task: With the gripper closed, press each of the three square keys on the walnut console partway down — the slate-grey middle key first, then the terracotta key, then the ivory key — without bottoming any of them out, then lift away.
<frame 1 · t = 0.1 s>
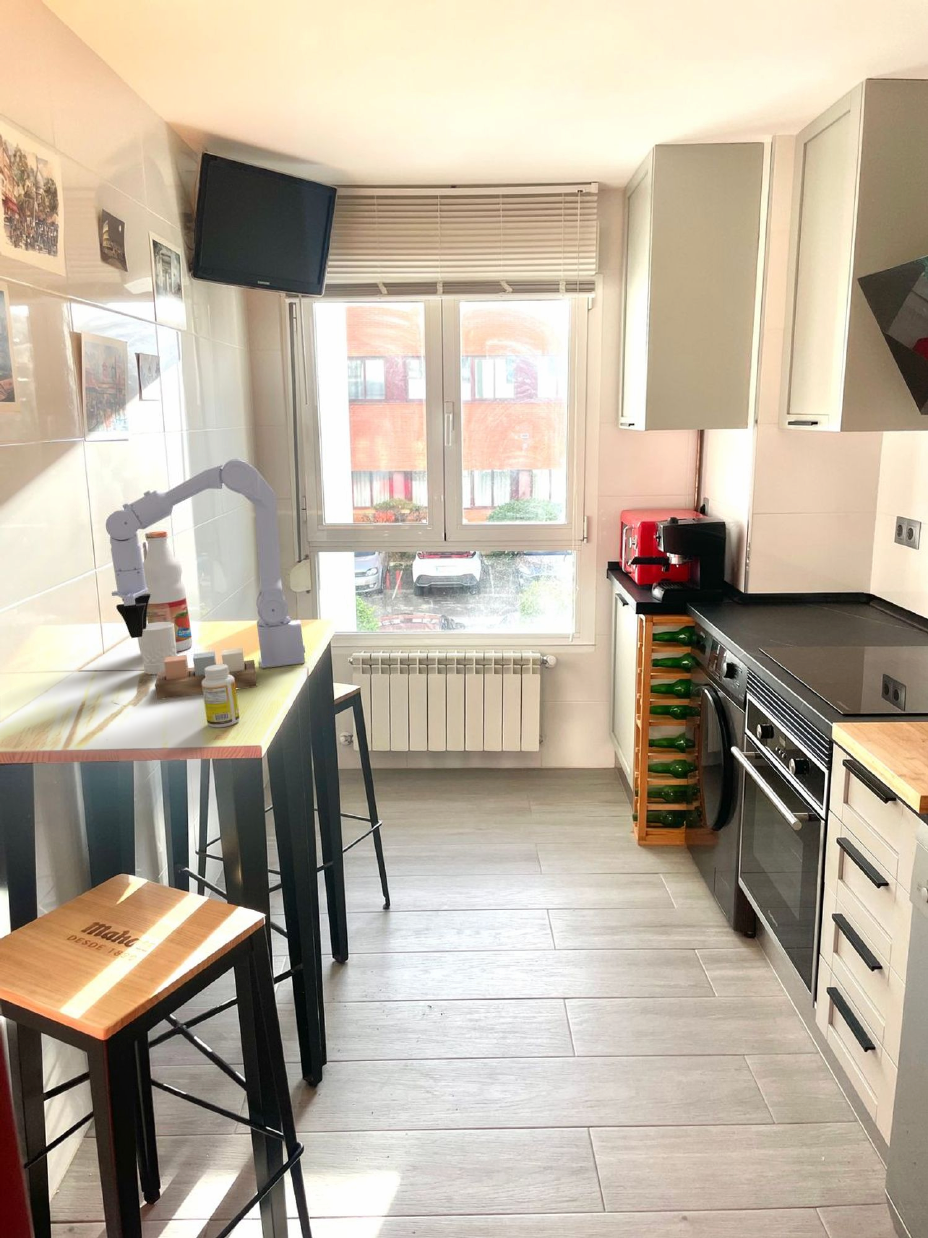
hand: (138, 633, 190), 10 cm above the table, tool pointing down, fingers open, 7 cm apart
key terracotta: (176, 668, 182), point 5 cm above the table, slide at 0.0 cm
console: (208, 686, 184), on the table
white cup: (161, 671, 199), on the table
key slate: (205, 664, 183), point 5 cm above the table, slide at 0.0 cm
fruit juice: (172, 649, 218), on the table
supplement bottle: (223, 724, 160), on the table
key ivory: (233, 661, 184), point 5 cm above the table, slide at 0.0 cm
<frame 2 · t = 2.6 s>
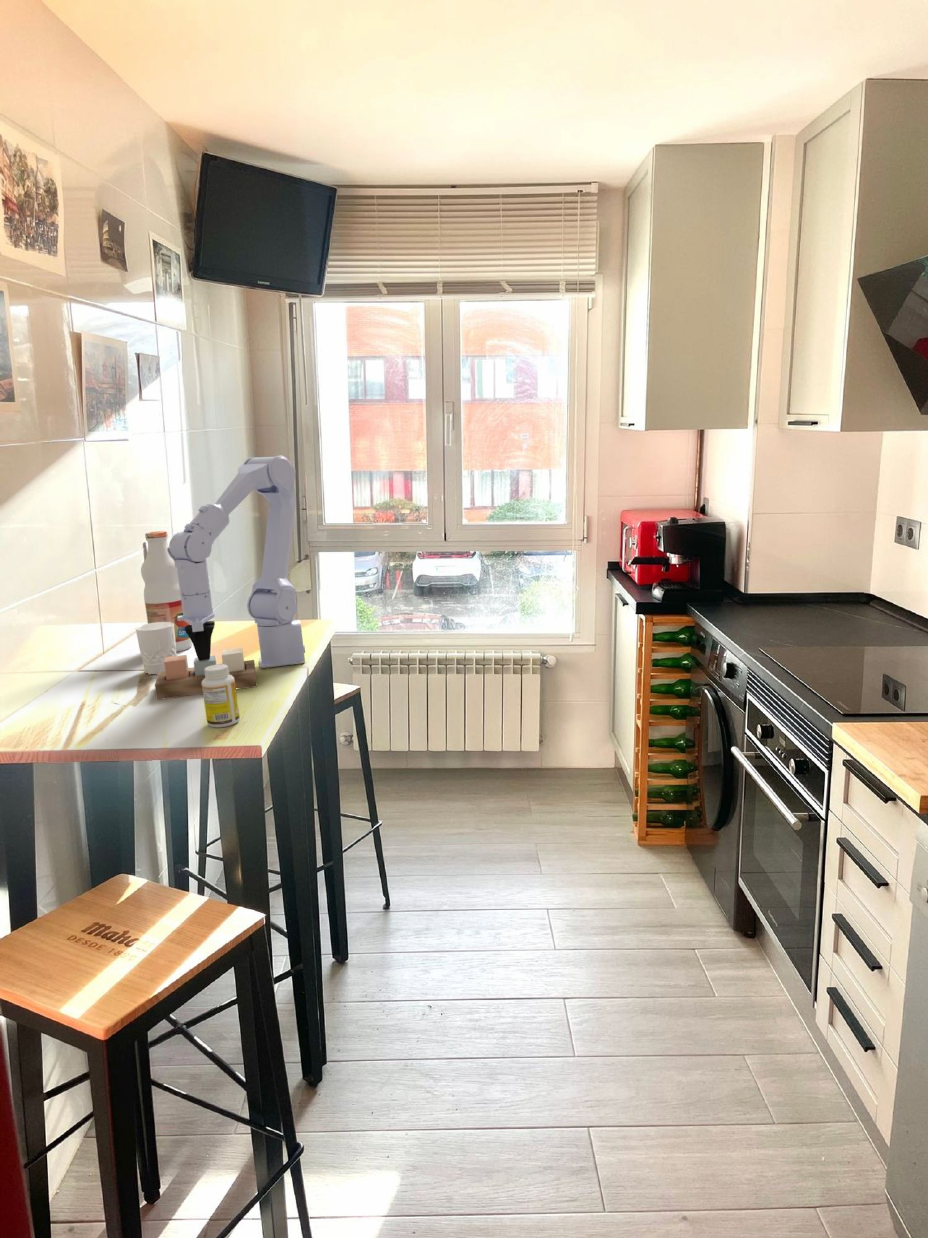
hand: (204, 659, 183), 6 cm above the table, tool pointing down, fingers closed, pressing on key slate
key slate: (205, 668, 183), point 4 cm above the table, slide at 0.9 cm, touching gripper
everything else where it was.
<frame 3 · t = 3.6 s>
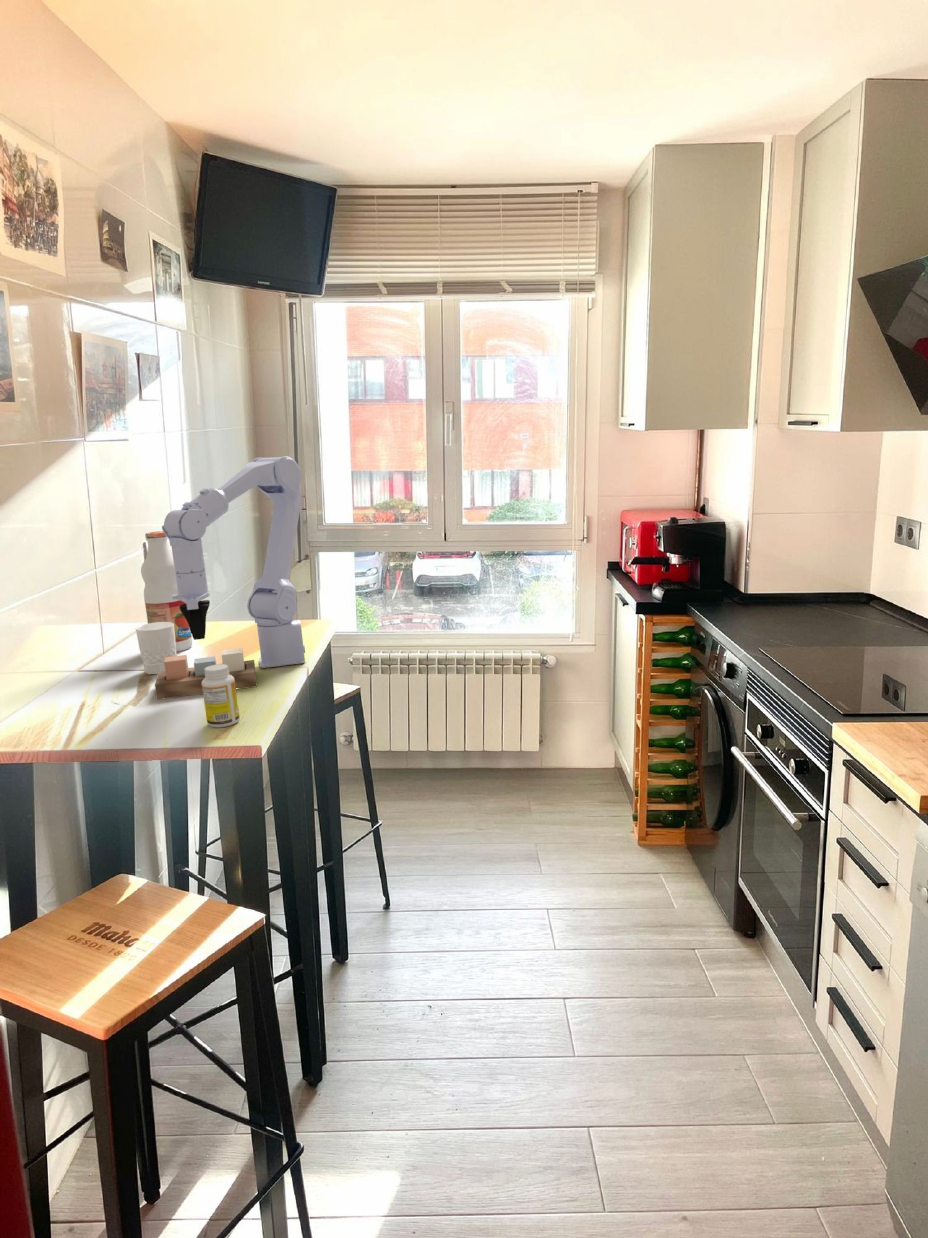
hand: (199, 638, 182), 10 cm above the table, tool pointing down, fingers closed
key slate: (205, 669, 183), point 3 cm above the table, slide at 1.0 cm
everything else where it was.
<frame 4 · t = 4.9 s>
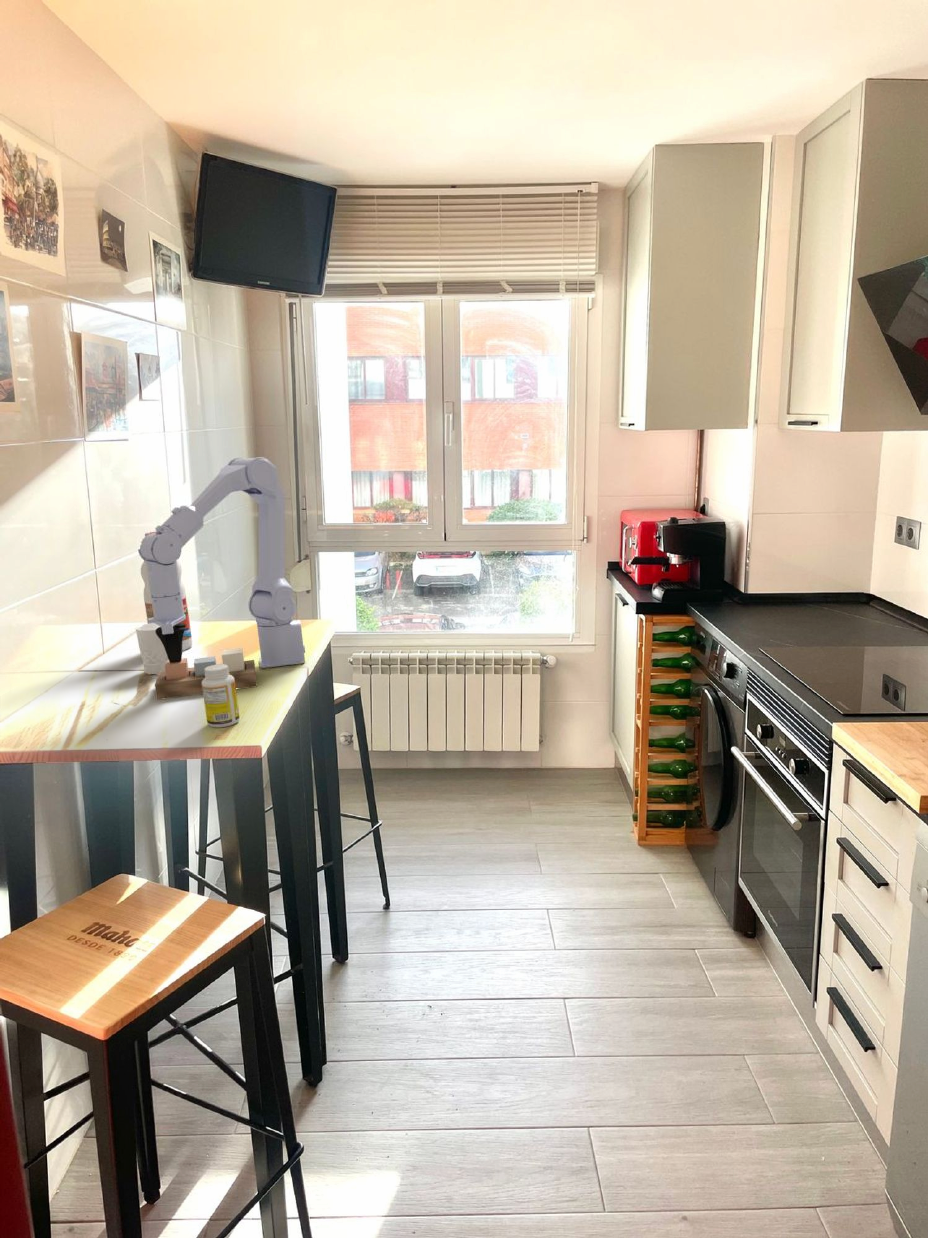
hand: (175, 661, 182), 6 cm above the table, tool pointing down, fingers closed, pressing on key terracotta
key terracotta: (177, 671, 182), point 4 cm above the table, slide at 0.7 cm, touching gripper
everything else where it was.
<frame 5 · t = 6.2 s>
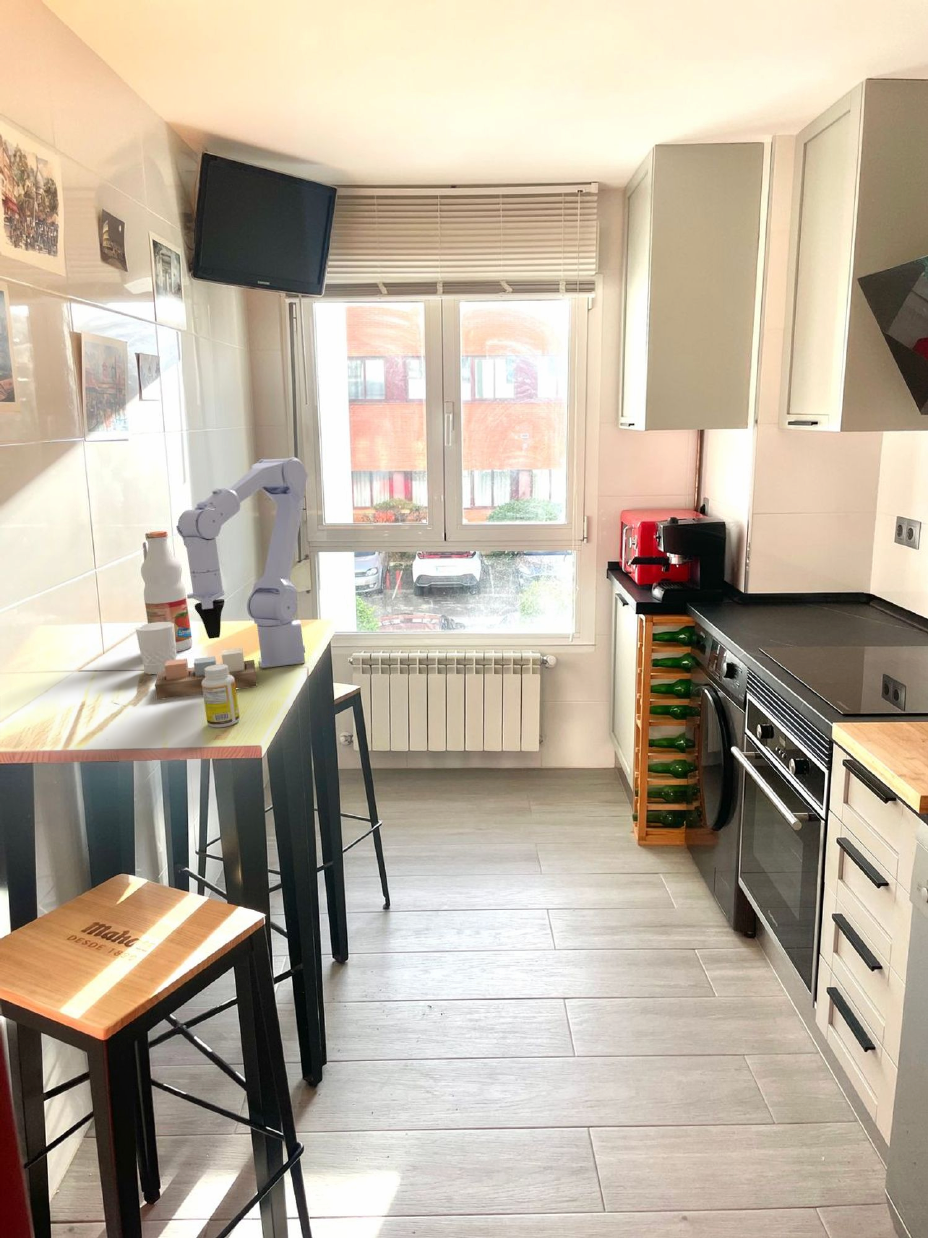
hand: (214, 637, 183), 10 cm above the table, tool pointing down, fingers closed
key terracotta: (177, 671, 182), point 4 cm above the table, slide at 0.7 cm
everything else where it was.
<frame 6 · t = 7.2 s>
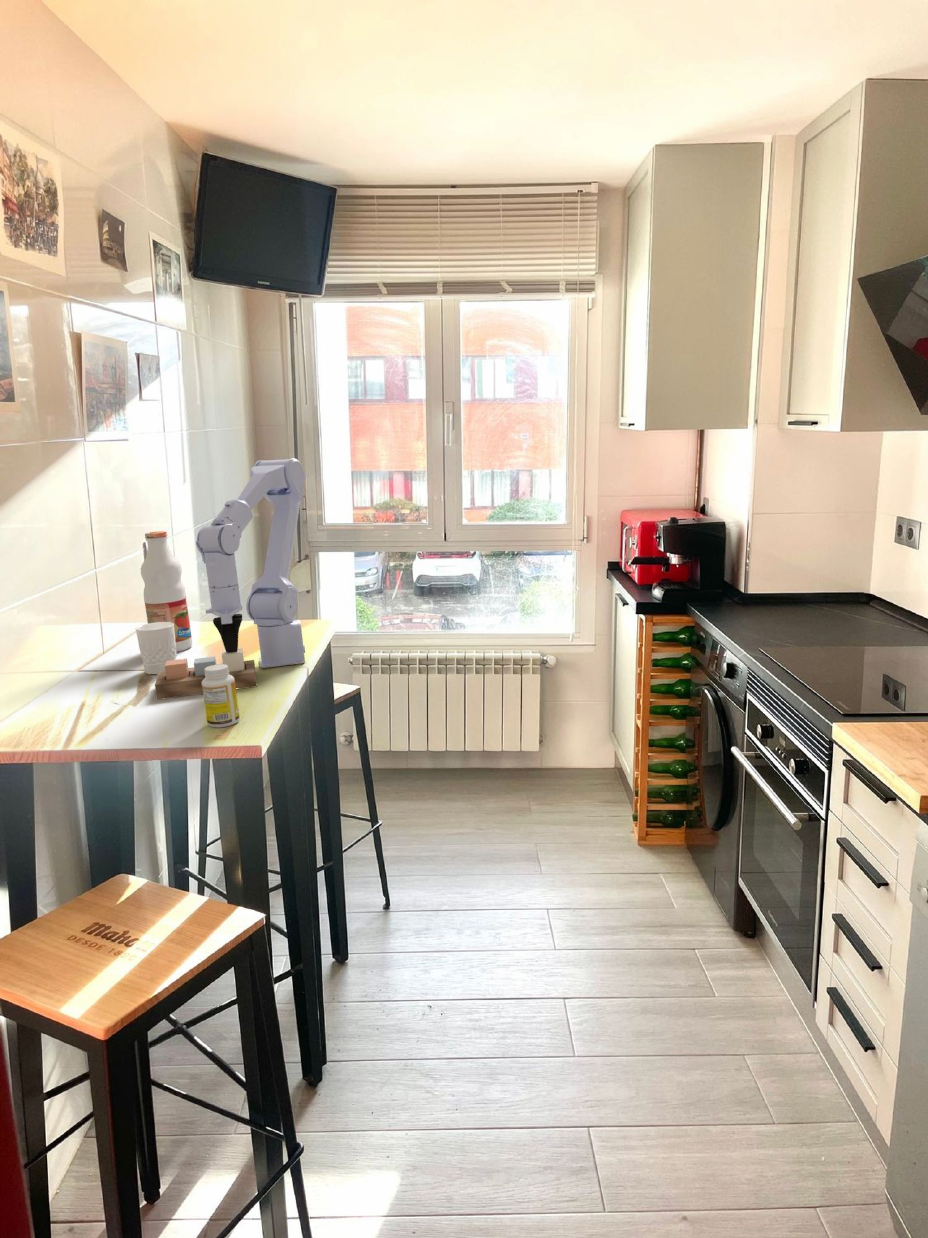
hand: (232, 651, 184), 6 cm above the table, tool pointing down, fingers closed, pressing on key ivory
key ivory: (233, 661, 184), point 4 cm above the table, slide at 0.0 cm, touching gripper
everything else where it was.
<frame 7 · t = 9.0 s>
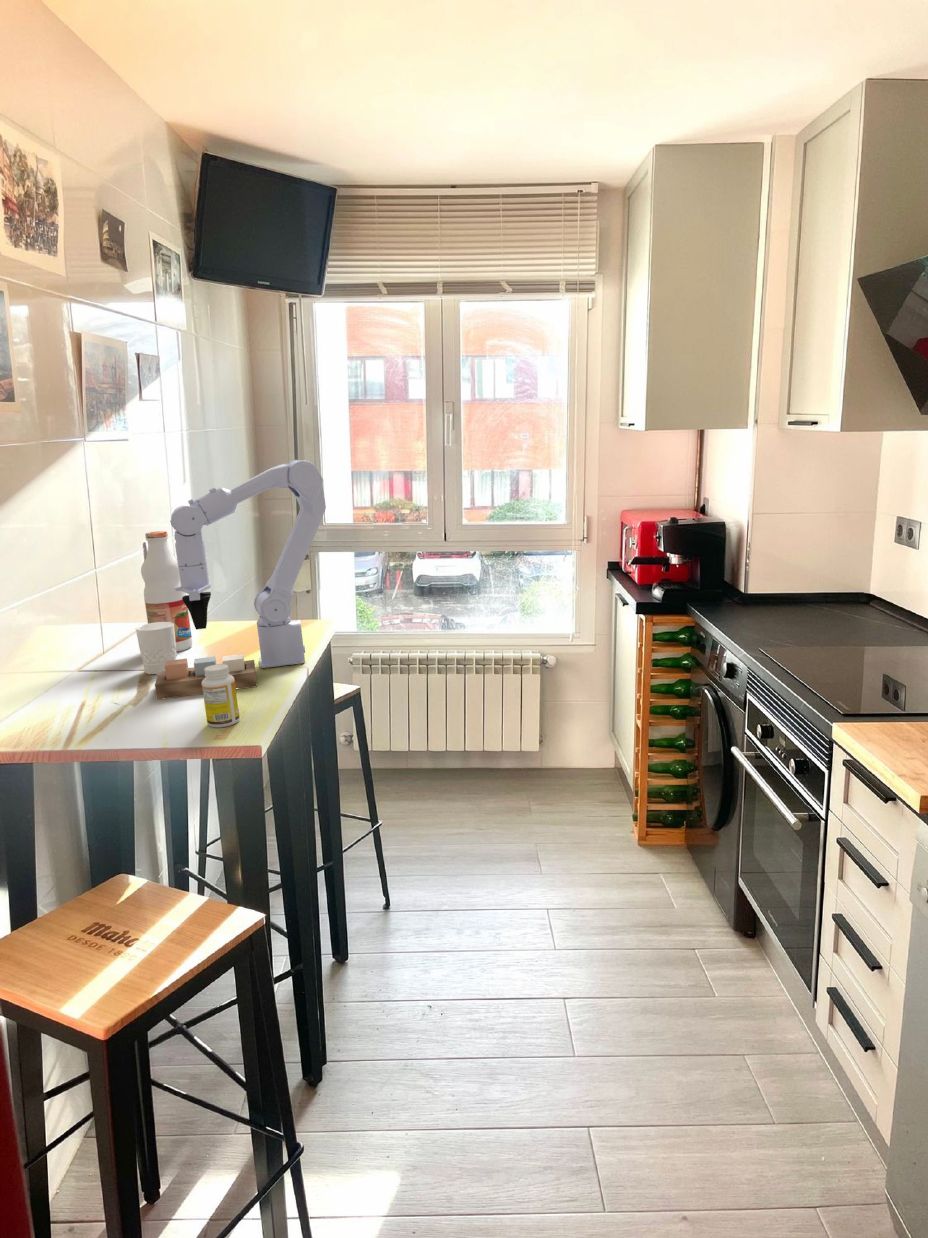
hand: (201, 628, 191), 10 cm above the table, tool pointing down, fingers closed
key ivory: (234, 667, 185), point 3 cm above the table, slide at 1.2 cm
everything else where it was.
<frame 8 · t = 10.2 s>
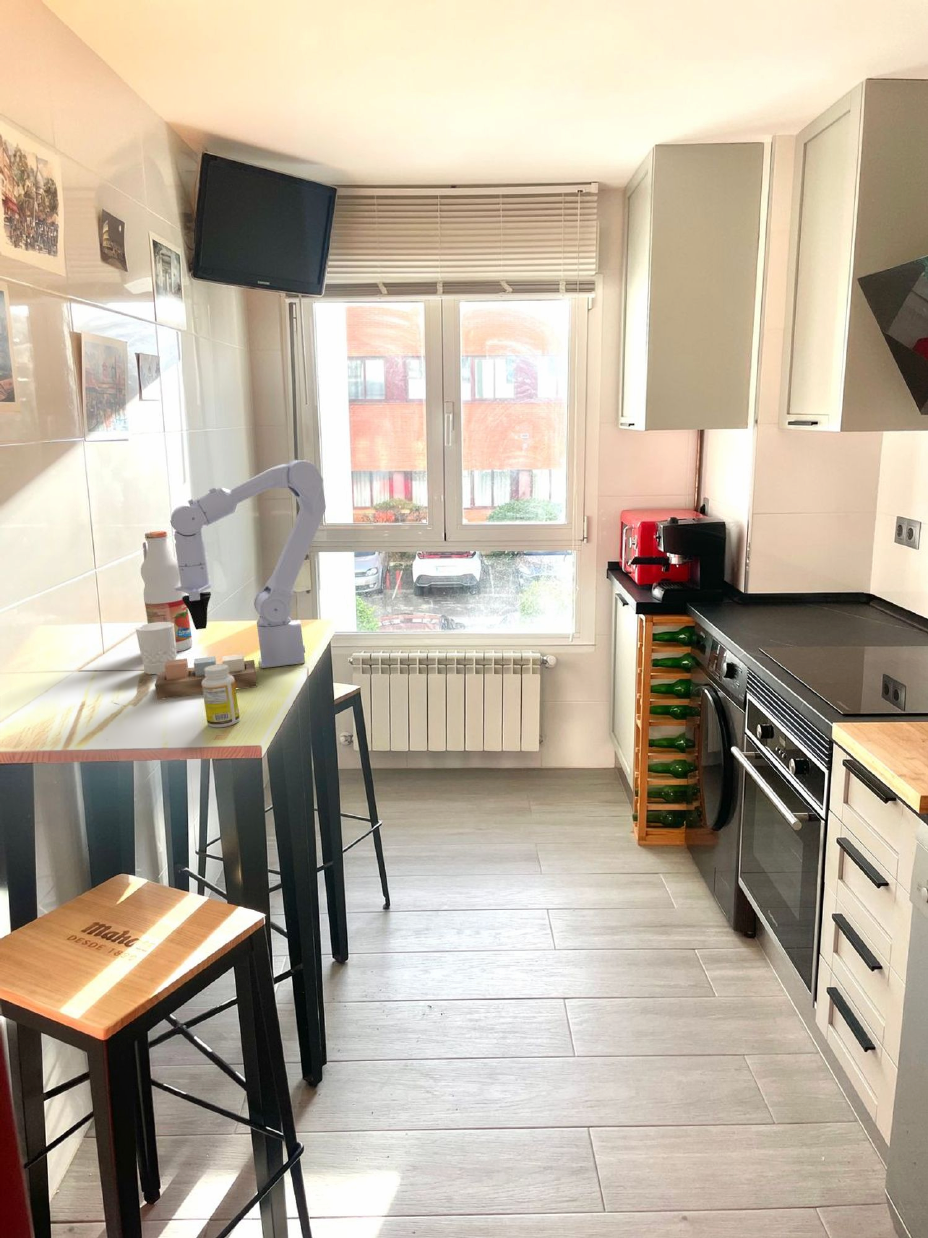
hand: (201, 628, 191), 10 cm above the table, tool pointing down, fingers closed
nothing on the table moved.
at the end: key slate slide at 1.0 cm; key terracotta slide at 0.7 cm; key ivory slide at 1.2 cm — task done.
